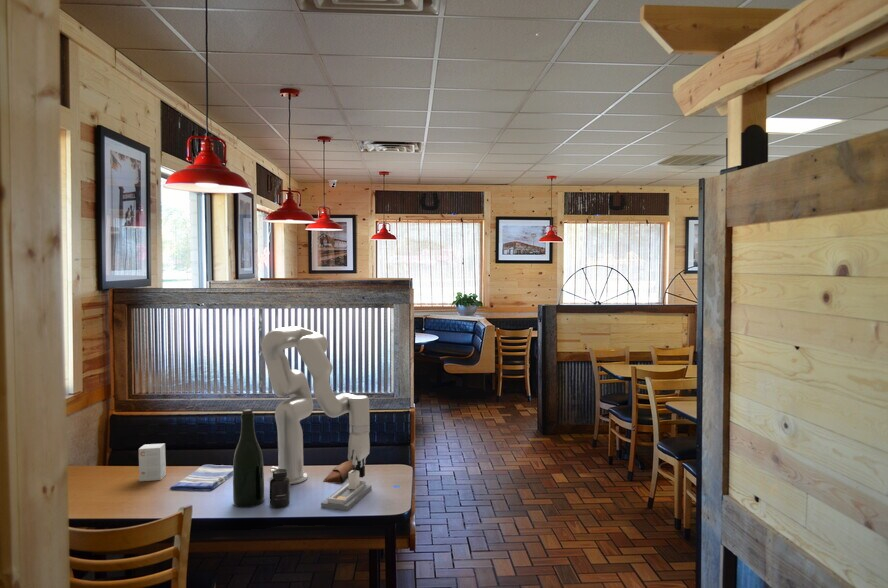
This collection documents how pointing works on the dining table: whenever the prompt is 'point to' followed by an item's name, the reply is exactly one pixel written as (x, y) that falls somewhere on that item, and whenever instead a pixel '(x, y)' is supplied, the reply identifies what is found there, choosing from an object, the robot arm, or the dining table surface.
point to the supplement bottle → (279, 489)
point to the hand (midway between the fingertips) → (360, 476)
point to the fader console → (346, 497)
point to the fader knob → (353, 479)
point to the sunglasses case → (340, 472)
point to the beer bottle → (248, 466)
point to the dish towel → (205, 478)
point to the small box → (152, 462)
